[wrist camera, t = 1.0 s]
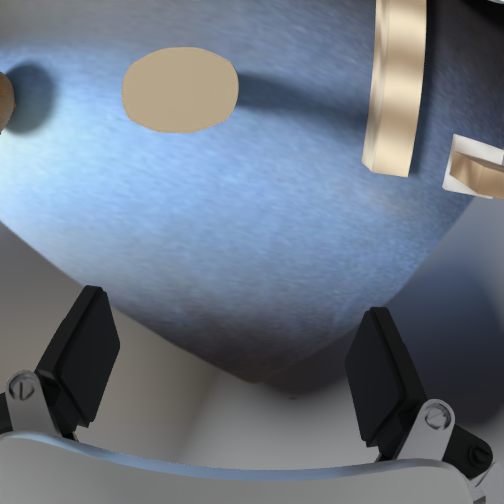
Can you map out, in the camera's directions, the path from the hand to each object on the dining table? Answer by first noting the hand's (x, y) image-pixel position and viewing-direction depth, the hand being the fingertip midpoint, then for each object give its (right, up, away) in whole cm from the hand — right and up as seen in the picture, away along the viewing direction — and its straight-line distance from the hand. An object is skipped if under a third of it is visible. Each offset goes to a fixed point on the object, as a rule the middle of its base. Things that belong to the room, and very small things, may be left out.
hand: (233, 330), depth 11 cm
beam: (+15, +23, +14) cm, 31 cm away
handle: (-3, +19, +17) cm, 26 cm away
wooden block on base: (+28, +13, +20) cm, 37 cm away
